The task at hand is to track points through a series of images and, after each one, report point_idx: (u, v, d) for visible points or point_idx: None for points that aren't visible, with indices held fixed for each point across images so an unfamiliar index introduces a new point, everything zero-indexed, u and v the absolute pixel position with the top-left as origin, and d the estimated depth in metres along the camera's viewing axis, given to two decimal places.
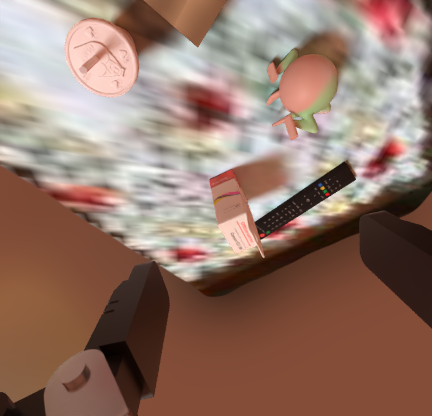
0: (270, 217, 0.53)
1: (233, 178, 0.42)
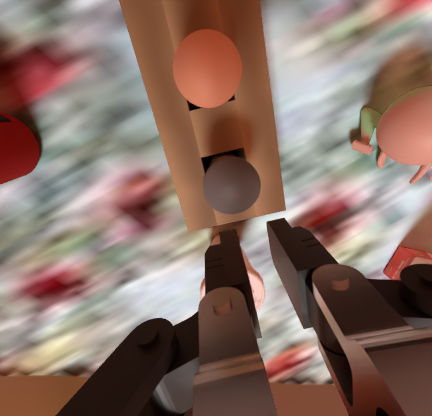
0: None
1: (414, 258, 0.31)
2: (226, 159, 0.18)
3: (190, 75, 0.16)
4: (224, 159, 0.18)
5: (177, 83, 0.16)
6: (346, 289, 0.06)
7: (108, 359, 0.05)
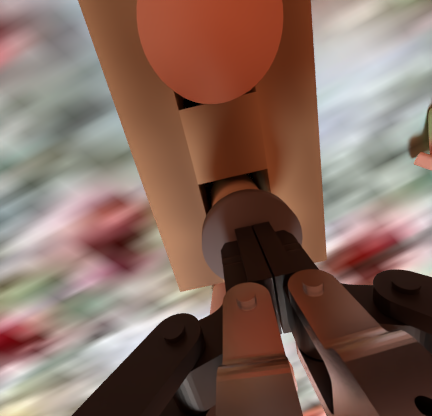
0: None
1: None
2: (243, 197, 0.10)
3: (173, 34, 0.07)
4: (240, 197, 0.10)
5: (147, 52, 0.07)
6: (319, 295, 0.06)
7: (135, 350, 0.05)
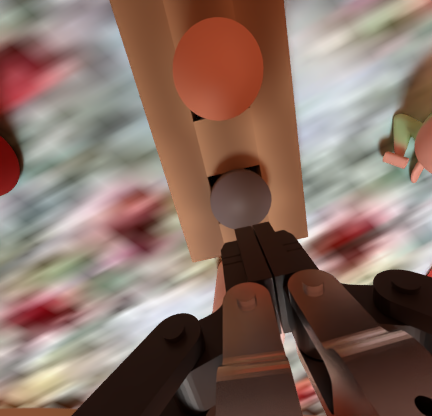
0: None
1: None
2: (235, 172, 0.17)
3: (195, 79, 0.12)
4: (233, 172, 0.17)
5: (178, 89, 0.12)
6: (319, 295, 0.06)
7: (136, 350, 0.05)
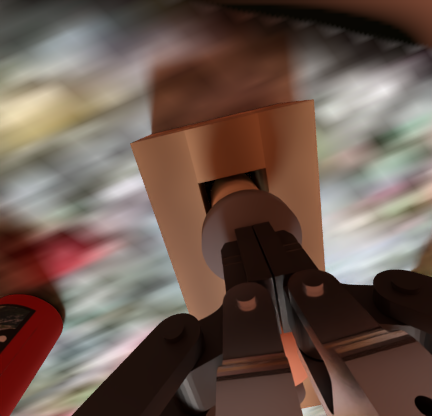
0: None
1: None
2: None
3: None
4: None
5: None
6: (319, 295, 0.06)
7: (136, 350, 0.05)
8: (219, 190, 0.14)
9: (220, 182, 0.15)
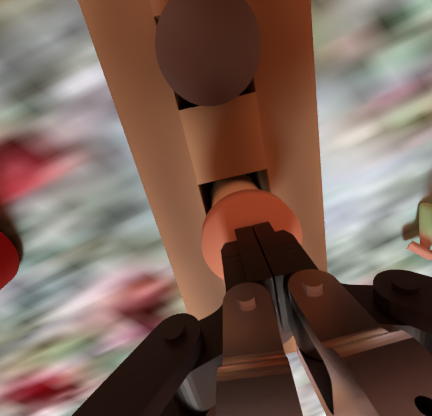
0: None
1: None
2: None
3: None
4: None
5: (207, 260, 0.11)
6: (319, 295, 0.06)
7: (136, 350, 0.05)
8: None
9: None
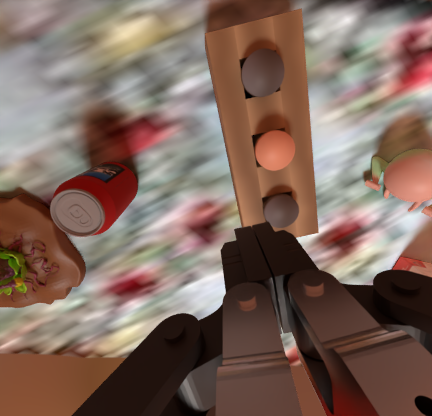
0: None
1: (411, 266, 0.41)
2: (279, 196, 0.30)
3: (265, 153, 0.27)
4: (278, 196, 0.30)
5: (257, 158, 0.27)
6: (319, 295, 0.06)
7: (136, 350, 0.05)
8: None
9: None
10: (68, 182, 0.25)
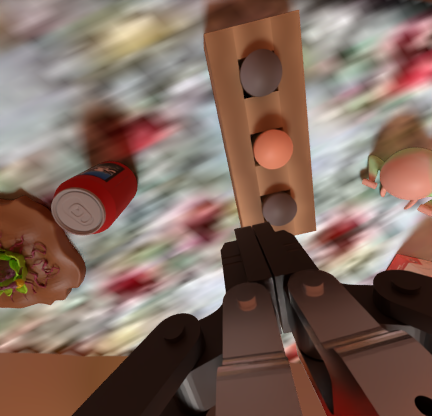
0: None
1: (408, 263, 0.41)
2: (278, 194, 0.31)
3: (263, 152, 0.28)
4: (276, 194, 0.31)
5: (256, 157, 0.28)
6: (319, 295, 0.06)
7: (136, 350, 0.05)
8: None
9: None
10: (69, 181, 0.26)
